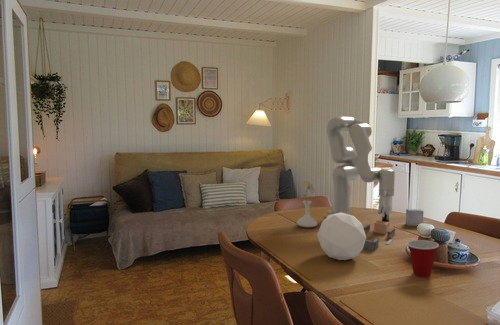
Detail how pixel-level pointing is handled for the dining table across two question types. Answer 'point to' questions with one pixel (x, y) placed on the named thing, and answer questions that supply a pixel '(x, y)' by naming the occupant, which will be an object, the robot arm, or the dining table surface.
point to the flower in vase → (307, 210)
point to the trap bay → (371, 245)
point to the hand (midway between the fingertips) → (385, 226)
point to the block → (381, 227)
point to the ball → (341, 236)
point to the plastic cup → (422, 256)
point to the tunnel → (389, 233)
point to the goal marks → (389, 241)
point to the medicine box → (414, 217)
